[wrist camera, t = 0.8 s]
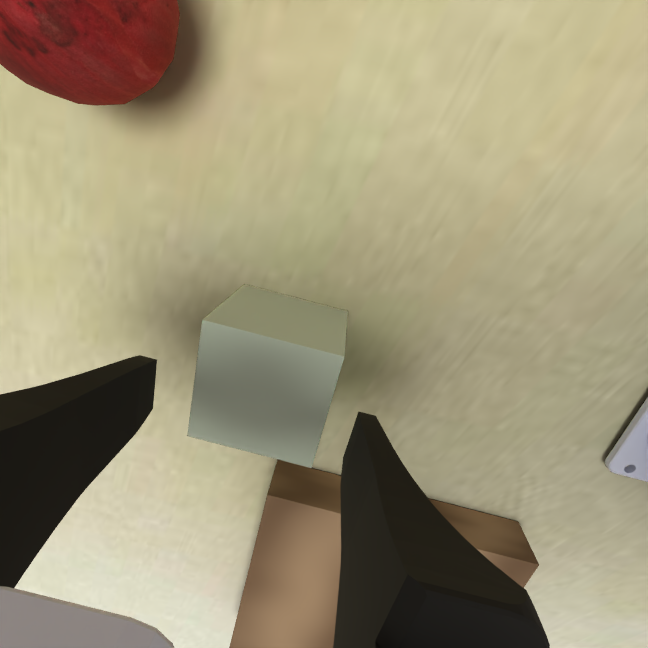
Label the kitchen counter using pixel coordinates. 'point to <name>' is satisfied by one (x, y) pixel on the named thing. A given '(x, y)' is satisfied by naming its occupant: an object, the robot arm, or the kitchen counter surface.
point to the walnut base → (333, 559)
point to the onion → (89, 46)
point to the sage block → (267, 374)
